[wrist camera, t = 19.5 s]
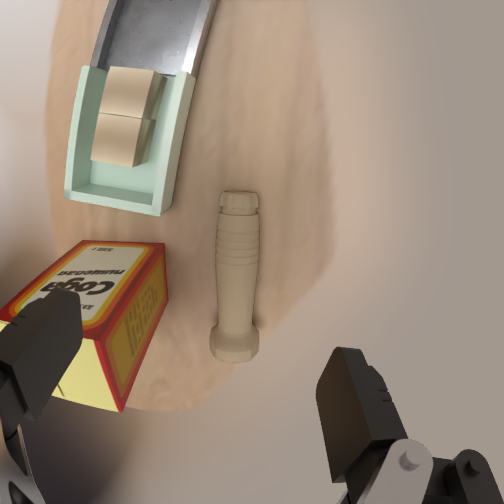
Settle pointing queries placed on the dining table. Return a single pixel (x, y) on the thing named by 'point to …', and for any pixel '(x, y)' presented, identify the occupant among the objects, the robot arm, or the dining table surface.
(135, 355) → the baking soda box
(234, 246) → the handle
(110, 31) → the metal chute
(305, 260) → the dining table surface
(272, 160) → the dining table surface
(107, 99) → the birch block
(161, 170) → the chip tray
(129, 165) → the birch block
